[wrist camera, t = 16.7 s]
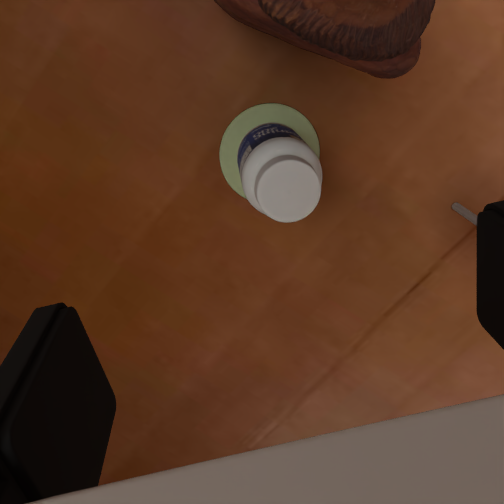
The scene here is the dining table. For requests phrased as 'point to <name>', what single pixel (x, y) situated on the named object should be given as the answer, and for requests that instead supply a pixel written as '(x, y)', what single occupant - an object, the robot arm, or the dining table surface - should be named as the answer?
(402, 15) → the wooden figurine
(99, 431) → the robot arm
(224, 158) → the coaster
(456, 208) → the lollipop
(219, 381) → the dining table surface
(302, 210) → the pill bottle
